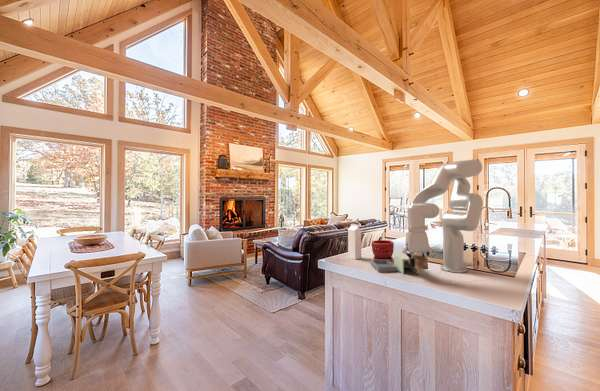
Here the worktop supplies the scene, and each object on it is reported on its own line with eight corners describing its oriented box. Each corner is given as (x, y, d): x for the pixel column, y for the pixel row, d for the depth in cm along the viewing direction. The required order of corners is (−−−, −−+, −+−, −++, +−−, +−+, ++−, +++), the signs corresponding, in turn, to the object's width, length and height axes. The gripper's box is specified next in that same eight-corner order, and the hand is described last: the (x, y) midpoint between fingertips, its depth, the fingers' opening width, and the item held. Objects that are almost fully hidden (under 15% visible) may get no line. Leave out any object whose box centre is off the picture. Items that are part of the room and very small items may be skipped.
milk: (355, 259, 165) (354, 225, 165) (348, 257, 170) (347, 224, 170) (361, 258, 169) (361, 224, 169) (354, 256, 174) (353, 223, 173)
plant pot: (395, 259, 165) (395, 240, 165) (390, 264, 154) (390, 244, 154) (375, 256, 172) (375, 238, 172) (369, 261, 161) (368, 242, 160)
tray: (387, 264, 154) (387, 259, 154) (396, 271, 139) (396, 266, 139) (370, 264, 154) (370, 259, 154) (378, 272, 139) (378, 267, 139)
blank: (418, 262, 135) (417, 253, 135) (428, 269, 125) (427, 258, 125) (408, 263, 135) (408, 254, 135) (417, 269, 125) (417, 259, 125)
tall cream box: (408, 267, 148) (408, 253, 148) (418, 273, 136) (418, 258, 136) (394, 267, 148) (393, 253, 148) (402, 273, 136) (402, 259, 136)
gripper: (429, 227, 133) (431, 262, 133) (396, 229, 133) (398, 264, 133) (437, 229, 125) (439, 266, 126) (402, 232, 125) (404, 269, 126)
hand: (418, 265), depth 130 cm, fingers closed on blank, 5 cm apart
